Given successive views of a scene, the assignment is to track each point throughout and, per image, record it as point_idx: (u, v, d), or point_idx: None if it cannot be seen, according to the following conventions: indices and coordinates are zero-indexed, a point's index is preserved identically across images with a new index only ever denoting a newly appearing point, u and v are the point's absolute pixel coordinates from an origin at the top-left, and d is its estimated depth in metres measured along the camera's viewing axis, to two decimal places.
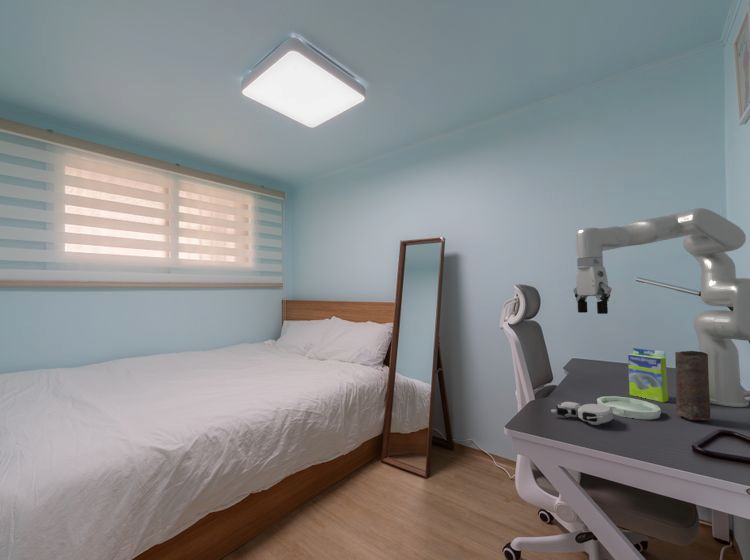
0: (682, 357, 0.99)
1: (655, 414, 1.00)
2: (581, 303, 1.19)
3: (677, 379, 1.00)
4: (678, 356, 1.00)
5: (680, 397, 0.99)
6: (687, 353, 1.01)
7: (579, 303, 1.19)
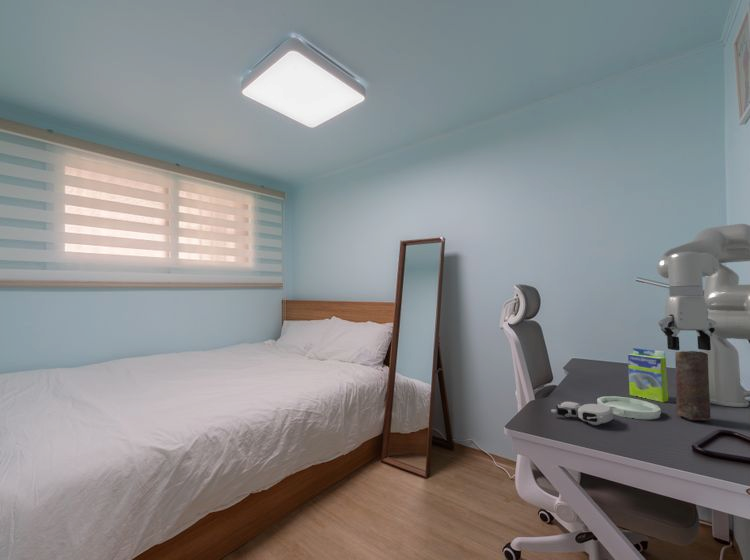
0: (682, 357, 0.99)
1: (655, 414, 1.00)
2: None
3: (677, 379, 1.00)
4: (678, 356, 1.00)
5: (680, 397, 0.99)
6: (687, 353, 1.01)
7: None
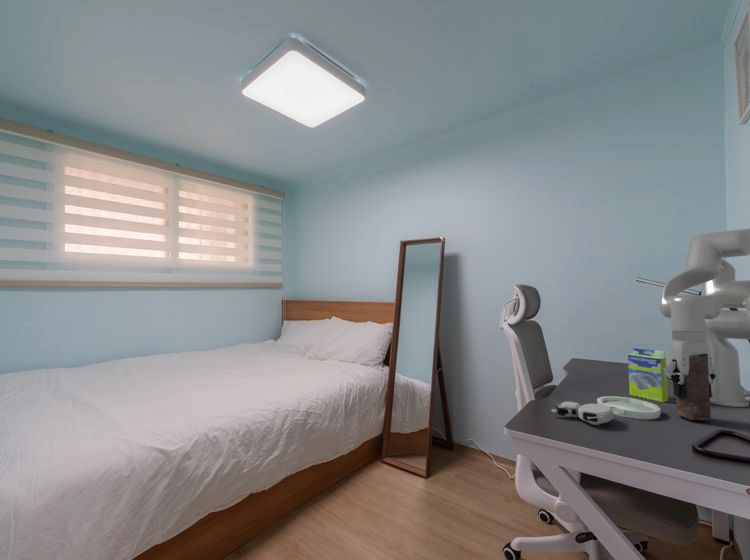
0: None
1: (655, 414, 1.00)
2: None
3: None
4: None
5: None
6: None
7: None
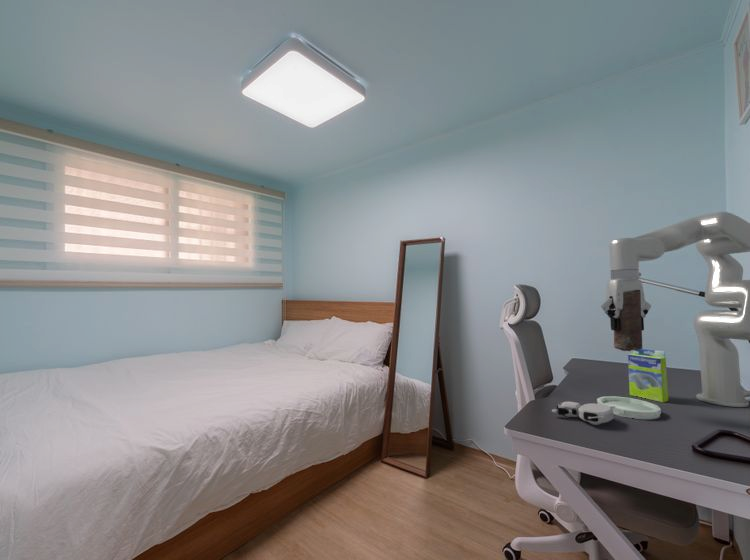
0: None
1: (655, 414, 1.00)
2: None
3: None
4: None
5: (616, 331, 1.08)
6: None
7: None
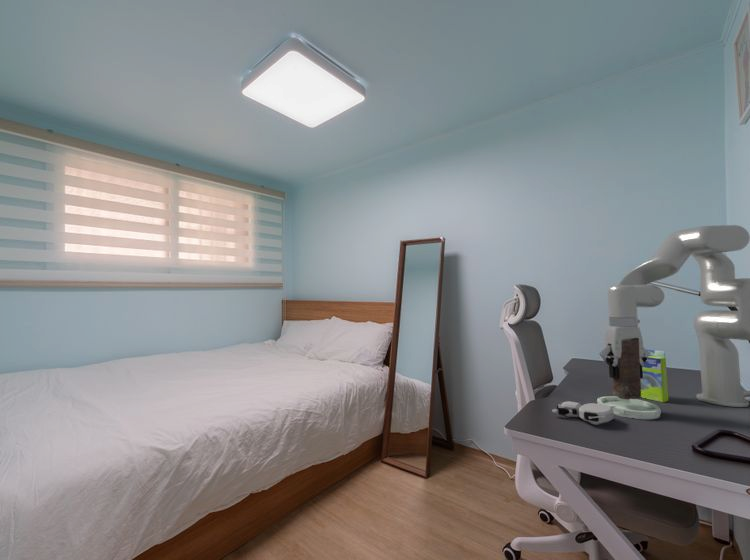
0: None
1: (655, 414, 1.00)
2: None
3: None
4: None
5: None
6: None
7: None
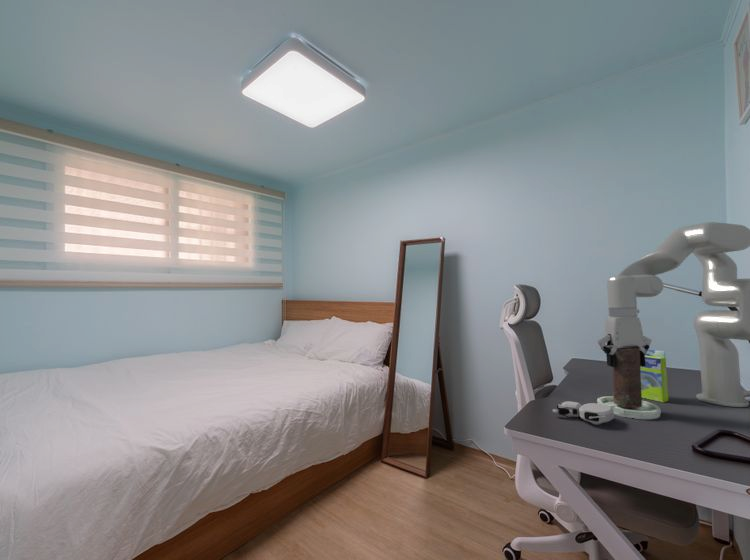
0: (617, 350, 1.07)
1: (655, 414, 1.00)
2: None
3: (614, 370, 1.09)
4: None
5: (615, 387, 1.08)
6: None
7: None
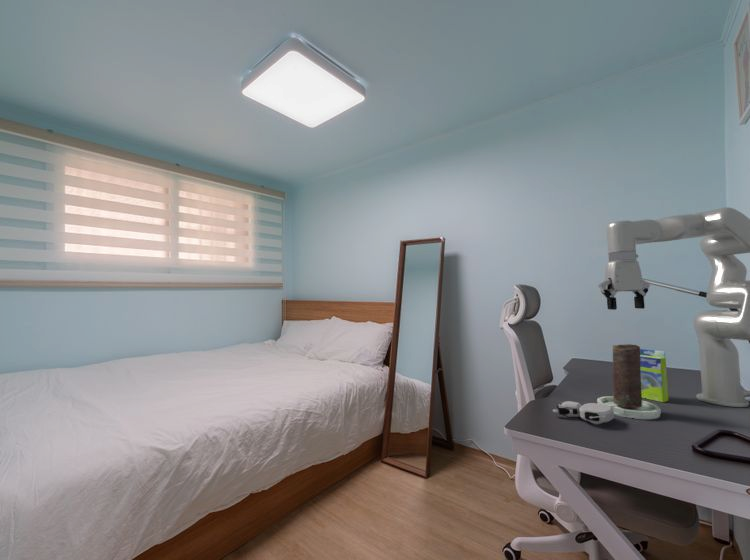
0: (617, 350, 1.07)
1: (655, 414, 1.00)
2: None
3: (614, 370, 1.09)
4: (614, 349, 1.08)
5: (615, 387, 1.08)
6: (623, 346, 1.09)
7: None
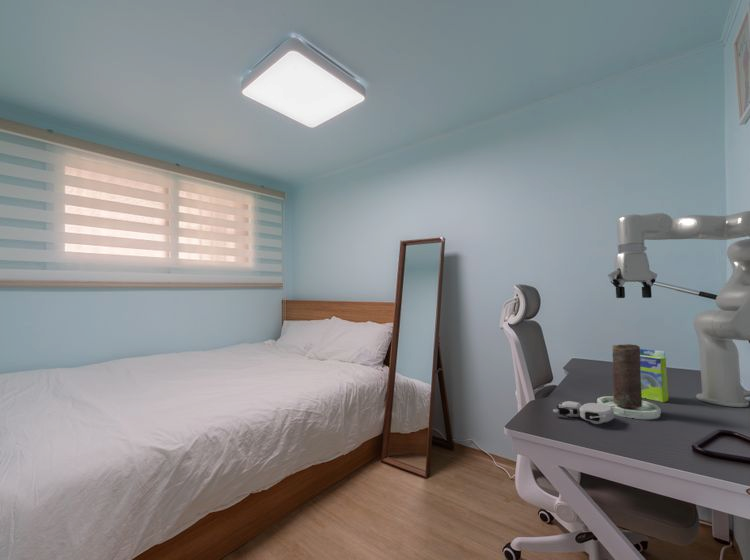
0: (617, 350, 1.07)
1: (655, 414, 1.00)
2: None
3: (613, 370, 1.09)
4: (614, 349, 1.08)
5: (615, 387, 1.08)
6: (623, 346, 1.09)
7: None
